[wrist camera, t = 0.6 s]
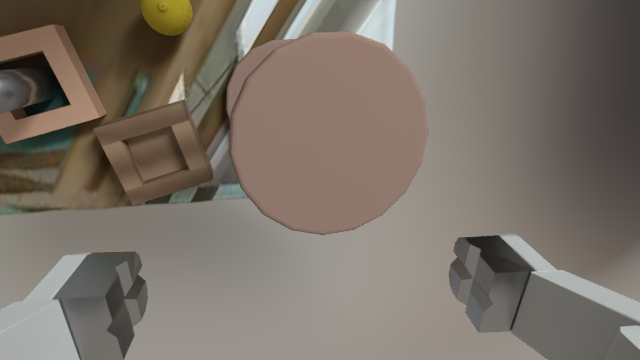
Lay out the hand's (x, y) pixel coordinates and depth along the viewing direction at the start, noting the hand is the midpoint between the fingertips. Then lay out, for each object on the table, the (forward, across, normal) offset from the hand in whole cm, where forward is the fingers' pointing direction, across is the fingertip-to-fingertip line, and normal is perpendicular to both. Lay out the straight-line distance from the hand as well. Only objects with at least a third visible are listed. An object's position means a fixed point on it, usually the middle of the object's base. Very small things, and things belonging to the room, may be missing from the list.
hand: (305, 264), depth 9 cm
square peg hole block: (+42, +17, +11) cm, 47 cm away
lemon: (+44, +14, -6) cm, 47 cm away
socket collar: (+41, +30, +2) cm, 51 cm away
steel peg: (+41, +30, +2) cm, 51 cm away
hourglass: (+46, -1, +6) cm, 46 cm away
